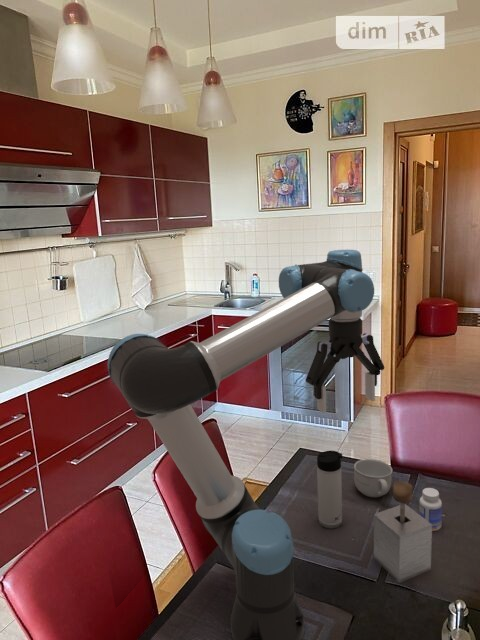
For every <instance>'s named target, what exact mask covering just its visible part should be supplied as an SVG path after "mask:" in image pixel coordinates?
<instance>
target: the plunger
mask: <svg viewBox="0 0 480 640" xmlns="http://www.w3.org/2000/svg"><path fill="white" fill-rule="evenodd" d="M393 499H394V501H396V502H398V503H399V505H400V523H401V524H403V523H405V504H408V503H411V502H412V500H413V485H412V484H411V483H410V482H408V481H402V480H400V481H399V480H398V481H395V482H394V483H393Z"/></svg>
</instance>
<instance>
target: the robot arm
mask: <svg viewBox="0 0 480 640" xmlns="http://www.w3.org/2000/svg"><path fill="white" fill-rule="evenodd" d="M362 262H363V261H362V254H361V252H360V251H359V250H357V249H337V250H336V249H335V250H330V251H328V253H327V255H326V260H325V261H321V262H314V263H313V262H312V263H305V264H294V265H291V266H285V267H284V268H282V269H281V271H280V273H279V276H278V288H279V292H280V294H281V296H282V298H281V299H279V300H277V301H276V302H275V303H273V304H271V305H269V306H266V307H265V308H263V309H261V310H259V311H257V312H255V313H253V314H252V315H249V316H248V317H246V318H244V319H242V320H240V321H238V322H236V323H235V324H233V325H230V326H229V327H227V328H225V329H223V330H221V331H220V332H217V333H215V334H214V335H212V336H210V337H208V338H206V339H204V340H202V341H201V342H197V341H193V340H191V341H188V342H186V343H184V344H182V345H180V346H177V347H174V348H168V347H167V346H166V345H164V344H163V343H162V342H161V340H159V338H157V337H155V336H152V335H149V334H145V333H132V334H130V335H127V336H125V337H123V338H122V339H120V340H119V341H117V342H116V344H114V346H113V347H112V349H111V351H110V352H109V355H108V359H107V370H108V374H109V378H110V379H111V381H112V382H113V384H115V385H116V386H117V388H118V390H119V391H120V393H121V394H122V396H123V398H124V399H125V401H126V402H127V404H128V405H129V407H130V409H131V410H132V412H133V414H134V415H135V416H136V417H137V418H139V419H146V420H148V422H149V423H150V425H151V427H152V428H153V430H154V432H155V433H156V434H157V436H158V438H159V440H161V441H160V442H161V443H162V444H163V446H164V448H165V449H166V451H167V453H168V454H169V456H170V458H171V459H172V461H174V463H175V465H176V467H177V468H178V471H180V473H181V475H182V476H183V478H184V479H185V481H186V483H187V484H188V486H189V488H190V489H191V491H192V492H193V493H194V496H195V497H196V501H195V510H196V512H197V514H198V516H199V518H200V519H201V520H202V525H203V526H204V527H205V529H206V530H207V532H208V533H209V534H210V535H211V536H212V538H213V539H214V541H215V542H216V544H217V546H219V548H220V549H221V551H222V553H223V554H224V555H225V557H226V558H227V560H228V562H229V564H230V565H231V566H232V568H233V570H234V575H235V586H236V587H235V588H236V596H235V599H234V603H233V607H232V609H231V612H230V613H231V614H230V617H229V618H230V621H229V622H230V632H231V633H232V634H231V637H232V639H233V640H302V639H303V638H304V636H305V635H304V634H305V628H306V627H305V615H304V611H303V608H302V606H301V604H300V602H299V599H298V597H297V594H296V592H295V579H294V578H295V577H294V576H295V573H294V542H293V538H292V537H293V536H292V531H291V529H290V526H289V524H288V523H287V521H286V520H285V519H284V518H283V517H282V516H281V515H279V514H278V513H275V512H273V511H271V512H268V510H267V509H261V508H260V507H259V506H258V505H257V503H256V502H255V501H254V499H253V497H252V495H251V494H250V492H249V490H248V488H247V486H246V484H245V483H244V482H243V480H242V479H241V478H239V477H238V476H236V475H235V476H234V475H231V473H230V471H229V469H228V468H227V465H226V464H225V462H224V461H223V459H222V457H221V455H220V454H219V452H218V450H217V448H216V447H215V445H214V443H213V442H212V440H211V438H210V435H208V432H207V431H206V429H205V428H204V425H203V423H202V422H201V421H200V419H199V417H198V415H197V414H196V412H195V410H194V408H193V406H192V404H194V403H196V402H199V401H200V400H202V399H204V398H206V397H207V396H209V395H211V394H212V393H215V392H217V390H218V389H219V386H220V383H221V382H222V381H223V380H224V379H227V378H228V377H230V376H232V375H234V374H235V373H237V372H239V371H241V370H243V369H244V368H246V367H248V366H250V365H251V364H253V363H254V362H256V361H258V360H260V359H262V358H263V357H265V356H266V355H269V354H270V353H272V352H274V351H275V350H278V349H279V348H281V347H282V346H284V345H286V344H288V343H290V342H291V341H293V340H295V339H296V338H298V337H300V336H302V335H304V334H305V333H307V332H308V331H310V330H312V329H314V328H315V327H317V326H319V325H322V323H324V322H326V321H328V335H329V341H328V342H323V341H318V342H317V344H316V345H317V346H316V353H315V355H314V358H313V359H312V362H311V365H310V368H309V371H308V373H307V376H306V378H305V382H306V383H308V384H309V385H311V386H313V396H314V398H315V399H316V404H317V407H316V409H317V410H318V411H319V412H321V413H323V414H326V413H327V392H326V391H327V387H326V385H325V384H324V383H325V382H326V380H327V378H328V377H329V375H330V374H331V372H332V371H333V369H334V367H335V366H336V364H337V363H339V362H341V361H340V360H345V359H347V358H354V357H356V359H357V360H358V361H359V363H361V365H363V367H365V369H366V370H367V371H365V372H364V374H365V375H364V377H365V379H364V381H365V382H364V383H365V385H364V387H365V389H364V393H365V394H364V395H365V397H364V398H365V399H367V400H369V401H371V402H375V401H376V388H375V387H377V385H378V376H380V375H381V371H385V364H384V362H383V360H382V358H381V356H380V355H379V352H378V349H377V348H376V346H375V344H374V336H373V335H371V334H369V333H366V332H364V333H363V319H362V317H363V311H364V310H366V309H367V308H368V307H369V306H370V305H371V303H372V302H373V300H374V296H375V285H374V283H373V282H374V281H373V280H372V278H371V277H370V276H369V275H368V274H366V273H365V272H363V271H364V269H363V263H362ZM362 344H363V345H364V347H365V350H366V352H367V355H368V357H367V355H365V352H364V351H363V350H362V348H361V346H362ZM329 349H330V350H329Z"/></svg>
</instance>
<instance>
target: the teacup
mask: <svg viewBox="0 0 480 640" xmlns="http://www.w3.org/2000/svg"><path fill="white" fill-rule="evenodd" d="M353 469H354V472H353V476H354V477H353V480H354V485H355V487H356V489H357V490H358V491H359V492H360V493H362V495H364V496H366V497H369V498H380V497H382V496H384V495H387V494H388V492H389V491H390V489H391V486H392V477H393V474H392V473H393V472H394V471H393V468H392V466H391V465H390V464H388V463H387V462H385V461H382V460H381V459H380V460H379V459H373V458H366V459H365V458H364V459H359V460H357V461H355V463H354V465H353Z"/></svg>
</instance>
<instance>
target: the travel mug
mask: <svg viewBox="0 0 480 640" xmlns="http://www.w3.org/2000/svg"><path fill="white" fill-rule="evenodd" d="M341 459H343V453H341V452H339V451H337V450H324V451H322V452H320V453H319V454H318V455H317V457H316V464H317V465H316V472H317V473H316V475H317V476H316V477H317V480H316V482H317V506H318V507H317V508H318V509H317V510H318V511H317V512H318V523H319V524H320V525H321V526H322V527H323V528H326V529H336V528H339V527H340V526H341V525H342V524H343V493H342V491H343V490H342V488H343V487H342V482H343V481H342V460H341Z"/></svg>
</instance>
